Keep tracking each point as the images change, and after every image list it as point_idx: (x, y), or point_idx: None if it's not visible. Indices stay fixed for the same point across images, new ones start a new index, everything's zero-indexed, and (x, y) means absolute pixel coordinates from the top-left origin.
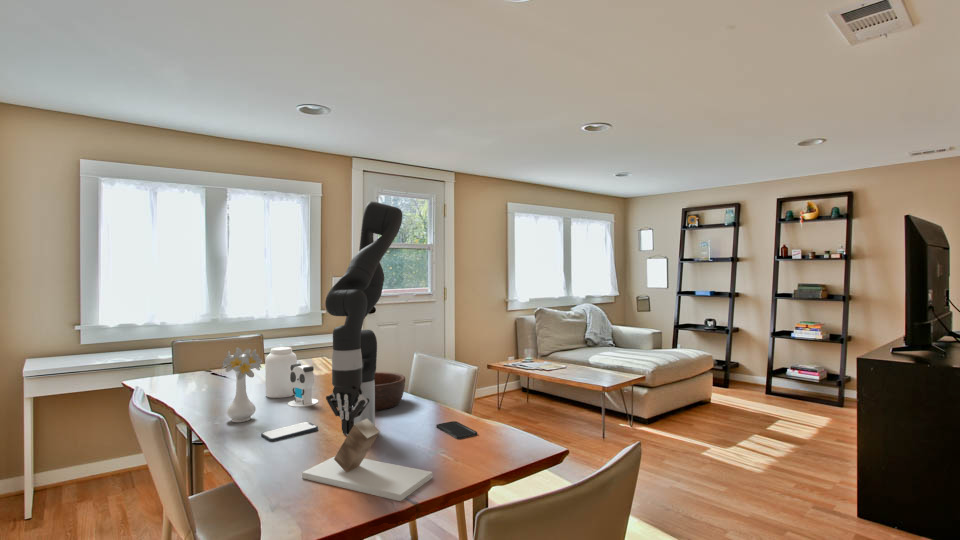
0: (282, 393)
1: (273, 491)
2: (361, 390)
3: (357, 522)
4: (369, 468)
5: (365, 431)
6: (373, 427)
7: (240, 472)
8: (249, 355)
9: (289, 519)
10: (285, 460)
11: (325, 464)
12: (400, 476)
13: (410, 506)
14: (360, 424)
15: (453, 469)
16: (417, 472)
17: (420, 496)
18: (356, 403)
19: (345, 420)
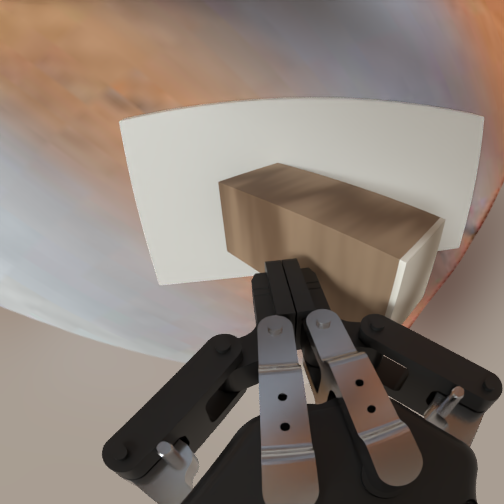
0: None
1: (176, 337)
2: (476, 473)
3: (408, 321)
4: (326, 164)
5: (415, 300)
6: (431, 247)
7: (35, 314)
8: None
9: (301, 367)
10: (21, 227)
11: (162, 216)
12: (434, 173)
13: (468, 245)
14: (395, 318)
15: (489, 51)
16: (460, 132)
17: (476, 206)
18: (380, 385)
19: (299, 348)
